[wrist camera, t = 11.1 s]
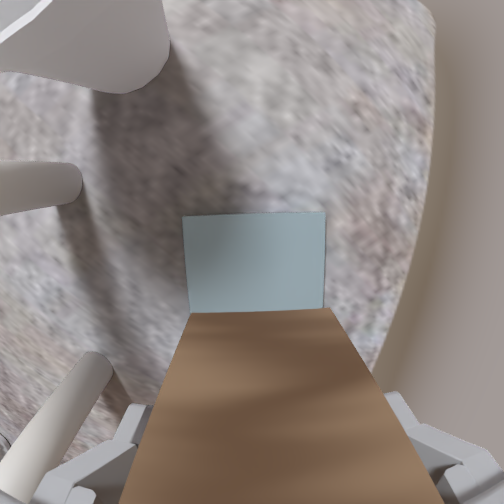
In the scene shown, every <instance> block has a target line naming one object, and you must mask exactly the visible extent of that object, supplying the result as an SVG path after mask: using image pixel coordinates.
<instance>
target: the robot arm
mask: <svg viewBox="0 0 504 504" xmlns="http://www.w3.org/2000/svg"><path fill="white" fill-rule="evenodd" d="M384 396H385V398H386V400H387V401H388V403H389V405H390V406H391V408H392V410H393V411H394V413H395V415H396V417H397V418H398V420H399V422H400V423H401V425H402V427H403V429H404V430H405V432H406V434H407V436H408V437H409V439H410V441H411V443H412V444H413V446H414V448H415V450H416V452H417V453H418V455H419V457H420V459H421V461H422V462H423V464H424V466H425V468H426V470H427V471H428V473H429V475H430V477H431V479H432V481H433V483H434V484H435V486H436V488H437V490H438V492H439V494H440V496H441V498H442V500H443V501H444V503H445V504H504V472H503V470H502V469H501V468H500V466H499V465H498V464H497V462H496V461H495V460H494V458H493V457H492V456H491V454H490V453H489V452H488V451H487V449H485V448H482V447H480V446H477V445H474V444H472V443H469V442H467V441H464V440H462V439H460V438H457V437H454V436H452V435H450V434H448V433H445V432H443V431H440V430H438V429H436V428H434V427H432V426H429V425H427V424H421V425H420V424H419V422H418V420H417V419H416V417H415V416H414V414H413V413H412V411H411V410H410V408H409V407H408V405H407V404H406V402H405V401H404V399H403V398H402V396H401V395H400V394H399V393H398V392H397V391H394V392H390V393H385V394H384ZM153 407H154V405H142V404H135V403H132V404H130V405H129V406H128V408H127V410H126V412H125V414H124V416H123V418H122V420H121V423H120V425H119V427H118V429H117V431H116V433H115V435H114V437H113V439H112V440H108V439H107V440H106V441H104V442H102V443H100V444H99V445H97V446H95V447H93V448H92V449H90V450H88V451H86V452H84V453H83V454H81V455H79V456H77V457H75V458H74V459H72V460H70V461H68V462H66V463H64V464H62V465H60V466H58V467H57V468H55V469H53V470H51V471H49V472H47V473H46V474H45V476H44V477H43V479H42V481H41V483H40V484H39V486H38V488H37V490H36V492H35V493H34V495H33V497H32V499H31V501H30V502H29V504H118V503H119V500H120V497H121V495H122V492H123V489H124V486H125V483H126V480H127V477H128V474H129V472H130V469H131V466H132V463H133V461H134V458H135V455H136V452H137V449H138V447H139V444H140V441H141V439H142V436H143V433H144V431H145V428H146V425H147V423H148V420H149V417H150V415H151V412H152V409H153ZM10 448H11V447H10V445H9V443H8V442H7V440H6V439H5V438H4V437H3V436H2V435H1V434H0V462H1V460H2V459H3V457H4V456H5V455H6V453H7V452H8V450H9V449H10ZM0 504H26V503H24V502H22V501H20V500H18V499H16V498H14V497H13V496H11V495H9V494H7V493H6V492H4V491H2V490H0Z"/></svg>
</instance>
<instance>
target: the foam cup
mask: <svg viewBox="0 0 504 504" xmlns="http://www.w3.org/2000/svg"><path fill="white" fill-rule="evenodd" d="M169 50H170V36H169V31H168V27H167V22H166V18H165V13H164V9H163V4H162V0H0V73H3V72H8V71H11V72H17V73H22V74H28V75H33V76H38V77H43V78H48V79H52V80H57V81H61V82H66V83H70V84H74V85H78V86H82V87H86V88H90V89H94V90H97V91H101V92H106V93H115V94H126V93H128V92H131V91H134V90H137V89H139V88H142V87H144V86H145V85H146V84H147V83H148V82H150V81H151V80H152V79H153V78H155V77H156V76H157V75H158V74H159V73H160V71H161V69H162V68H163V66H164V64H165V63H166V61H167V59H168V58H169Z"/></svg>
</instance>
